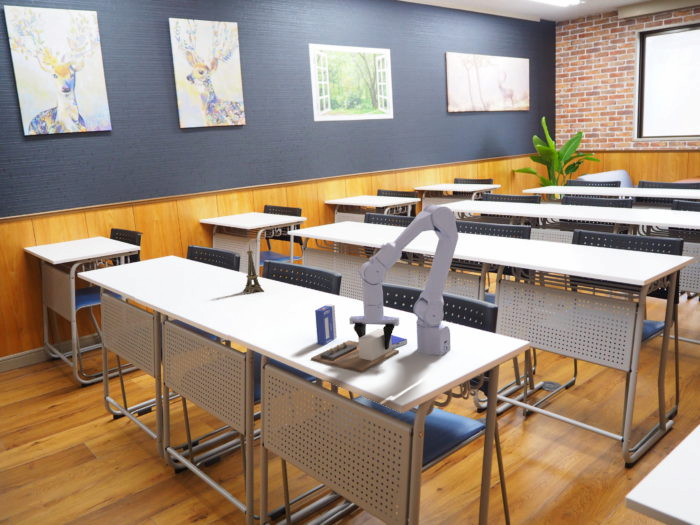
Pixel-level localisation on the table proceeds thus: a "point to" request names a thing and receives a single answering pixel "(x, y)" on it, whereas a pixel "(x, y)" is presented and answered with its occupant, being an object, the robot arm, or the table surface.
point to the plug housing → (373, 345)
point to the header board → (350, 357)
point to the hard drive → (397, 341)
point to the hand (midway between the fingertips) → (375, 347)
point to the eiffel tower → (252, 276)
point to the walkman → (325, 324)
